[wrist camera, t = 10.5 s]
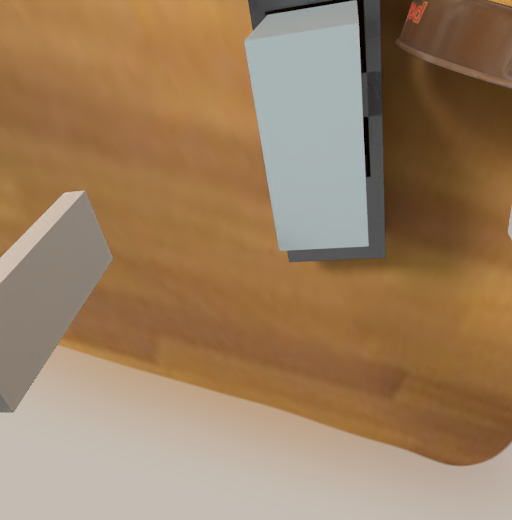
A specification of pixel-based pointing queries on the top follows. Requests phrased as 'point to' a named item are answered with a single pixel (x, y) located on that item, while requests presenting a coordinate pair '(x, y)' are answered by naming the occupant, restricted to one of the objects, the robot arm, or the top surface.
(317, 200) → the pale blue upright block
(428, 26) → the tin
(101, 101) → the top surface
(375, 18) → the board
